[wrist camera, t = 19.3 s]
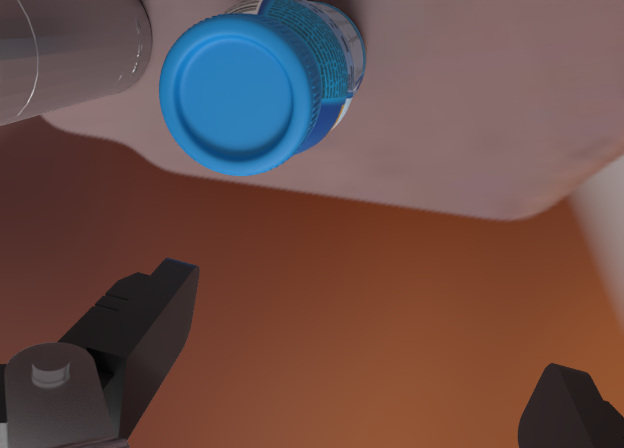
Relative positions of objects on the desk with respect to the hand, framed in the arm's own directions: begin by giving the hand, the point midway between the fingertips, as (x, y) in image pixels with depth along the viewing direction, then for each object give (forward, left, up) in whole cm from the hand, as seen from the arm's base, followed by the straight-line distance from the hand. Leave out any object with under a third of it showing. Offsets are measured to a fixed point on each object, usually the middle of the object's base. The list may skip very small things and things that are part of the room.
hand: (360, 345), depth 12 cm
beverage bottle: (-7, +2, -32) cm, 33 cm away
